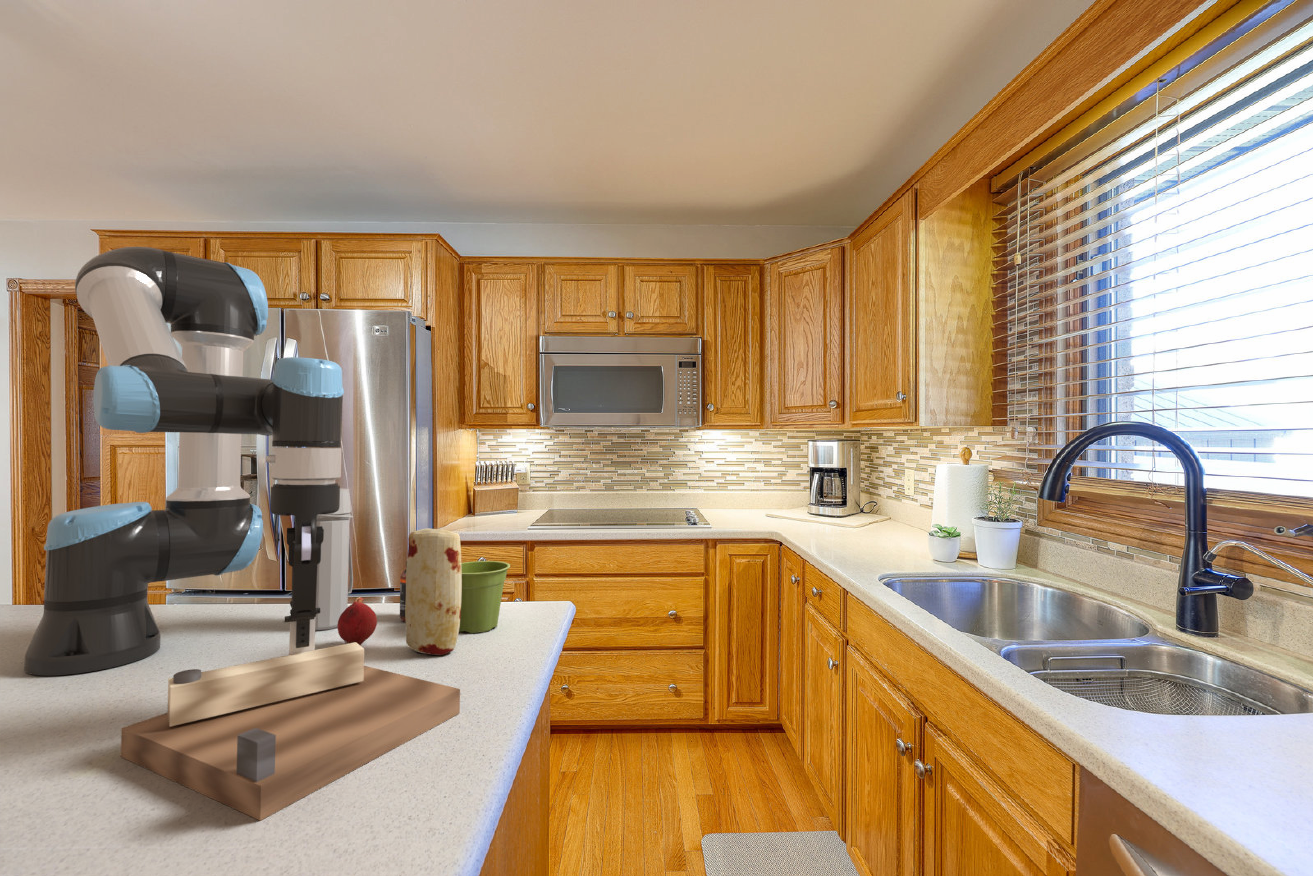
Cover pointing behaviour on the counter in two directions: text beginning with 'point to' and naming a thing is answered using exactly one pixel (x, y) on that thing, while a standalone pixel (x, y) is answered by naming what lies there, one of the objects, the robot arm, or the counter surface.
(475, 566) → the plant pot
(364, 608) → the onion
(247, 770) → the brown flat square block
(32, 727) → the counter surface
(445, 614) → the food model
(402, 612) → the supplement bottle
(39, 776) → the counter surface
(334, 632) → the counter surface
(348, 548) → the water bottle
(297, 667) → the folding leg
